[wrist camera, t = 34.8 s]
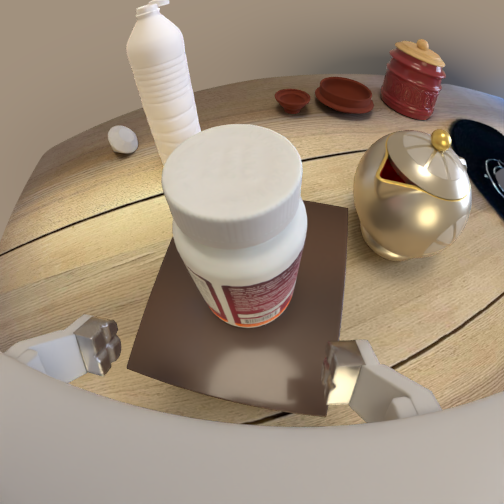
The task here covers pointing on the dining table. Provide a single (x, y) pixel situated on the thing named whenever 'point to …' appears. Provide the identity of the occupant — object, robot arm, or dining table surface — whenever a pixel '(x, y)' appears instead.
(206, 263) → the pill bottle
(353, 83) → the pottery
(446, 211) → the teapot
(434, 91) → the kitchen canister
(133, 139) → the gemstone
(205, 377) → the lid
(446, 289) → the dining table surface
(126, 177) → the dining table surface
